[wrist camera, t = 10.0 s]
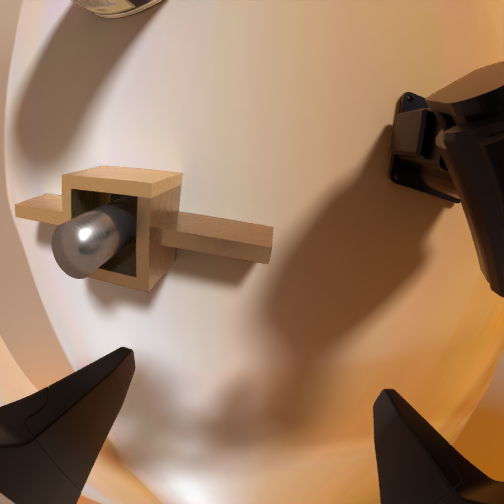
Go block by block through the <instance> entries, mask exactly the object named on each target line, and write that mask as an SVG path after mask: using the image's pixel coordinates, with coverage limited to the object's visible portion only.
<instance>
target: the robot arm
mask: <svg viewBox="0 0 504 504" xmlns="http://www.w3.org/2000/svg"><path fill="white" fill-rule="evenodd" d="M407 96H408V97H410V99H411V102H408V100H407ZM390 150H391V152H392V153H393V154H392V159H391V164H390V169H389V179H390V181H392V182H393V183H396V184H400V185H403V186H406V187H410V188H413V189H416V190H419V191H422V192H425V193H428V194H431V195H434V196H437V197H440V198H443V199H446V200H449V201H452V202H455V203H460V202H461V204H462V207H463V210H464V213H465V216H466V219H467V222H468V225H469V228H470V231H471V234H472V238H473V241H474V245H475V248H476V252H477V256H478V260H479V264H480V268H481V271H482V273H483V274H484V276H485V278H486V280H487V281H488V282H489V283H490V288H491V290H492V291H494V292H495V293H497V294H498V295H499V296H501V297H504V61H502V62H498V63H495V64H492V65H489V66H486V67H483V68H480V69H477V70H475V71H473V72H471V73H469V74H467V75H466V76H464V77H462V78H460V79H458V80H457V81H455V82H453V83H451V84H450V85H448V86H446V87H444V88H443V89H441V90H439V91H437V92H436V93H434V94H432V95H430V96H429V97H427V98H423V97H421V96H418V95H416V94H413V93H411V92H407V93H404V94H403V95H402V97H401V104H400V111H399V114H397V115H396V117H395V124H394V130H393V136H392V142H391V148H390ZM396 172H397V173H398V178H397V179H395V178H394V174H395V173H396ZM134 372H135V359H134V352H133V350H132V349H129V348H126V347H120V348H118V349H117V350H115V351H113V352H111V353H109V354H108V355H106V356H104V357H102V358H100V359H98V360H96V361H95V362H93V363H91V364H89V365H87V366H85V367H83V368H82V369H80V370H78V371H76V372H74V373H73V374H70V375H69V376H67V377H65V378H63V379H61V380H59V381H57V382H55V383H54V384H52V385H50V386H49V388H48V387H46V388H44V389H42V390H40V391H38V392H36V393H34V394H32V395H30V396H27V397H25V398H22V399H20V400H17V401H15V402H12V403H9V404H7V405H4V406H1V407H0V504H77V501H78V499H79V497H80V494H81V491H82V490H83V487H84V485H85V483H86V481H87V478H88V476H89V474H90V472H91V469H92V467H93V465H94V463H95V461H96V459H97V457H98V454H99V452H100V450H101V448H102V446H103V444H104V442H105V440H106V438H107V436H108V433H109V431H110V429H111V427H112V425H113V423H114V421H115V419H116V417H117V415H118V413H119V411H120V409H121V407H122V405H123V402H124V399H125V397H126V394H127V391H128V388H129V385H130V383H131V380H132V377H133V375H134ZM373 418H374V443H375V452H376V460H377V468H378V478H379V488H380V500H381V504H504V482H501V481H495V480H493V479H491V478H489V477H488V476H487V475H485V474H484V473H483V472H482V471H480V470H479V469H478V468H477V467H475V466H474V465H472V464H471V463H470V462H469V461H468V460H467V459H466V458H464V457H463V456H462V455H461V454H460V453H459V452H458V451H457V450H455V448H454V447H453V446H452V445H449V443H448V442H447V441H446V440H445V439H444V438H443V437H442V436H441V435H440V434H439V433H438V432H437V431H436V430H435V429H434V428H433V427H432V426H431V425H430V424H429V423H428V422H427V421H426V420H425V419H424V418H423V417H422V416H421V415H420V414H419V413H418V412H417V411H416V410H415V409H414V408H413V407H412V406H411V405H410V404H409V403H408V402H407V401H406V400H405V399H404V398H403V397H402V396H401V395H400V394H398V393H397V392H396V391H395V390H394V389H384V390H382V392H381V393H380V395H379V396H378V398H377V399H376V401H375V403H374V406H373Z"/></svg>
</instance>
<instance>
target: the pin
mask: <svg viewBox="0 0 504 504" xmlns="http://www.w3.org/2000/svg"><path fill="white" fill-rule="evenodd" d="M137 202H138V196H130V195H127V196H124V197H122V198H119V199H117V200H114V201H112V202H109V203H107V204H105V205H102V206H100V207H98V208H95V209H93V210H91V211H89V212H86V213H84V214H82V215H80V216H77V217H75V218H73V219H71V220H69V221H67V222H64V223H62V224H60V225H59V226H58V227H57V228H56V229H55V231H54V233H53V236H52V251H53V254H54V257H55V260H56V262H57V263H58V265H59V267H60V268H61V269H62V270H63V271H64V272H65V273H66V274H67V275H69V276H71V277H73V278H76V279H82V278H85V277H87V276H88V275H90V274H91V273H92V272H93V271H95V270H96V269H97V268H98V267H100V266H101V265H102V264H103V263H105V262H106V261H107V260H109V259H110V258H111V257H112V256H114V255H115V254H116V253H118V252H119V251H120V250H122V249H123V248H124V247H126V246H127V245H128V244H130V243H131V242H132V241H134V240H135V239H136V229H137Z"/></svg>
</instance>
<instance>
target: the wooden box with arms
mask: <svg viewBox="0 0 504 504" xmlns="http://www.w3.org/2000/svg"><path fill="white" fill-rule="evenodd" d="M181 181H182V173H177V172H168V171H159V170H149V169H139V168H127V167H115V166H100V167H95V168H90V169H86V170H81V171H77V172H72V173H68V174H64V175H62V195H54V194H43V195H40V196H37V197H34V198H32V199H29V200H26V201H23V202H20V203H18V204H15V213H16V217H19V218H24V219H29V220H34V221H39V222H44V223H49V224H54V225H60V224H62V223H64V222H67V221H69V220H71V219H73V218H75V217H77V216H80V215H82V214H84V213H86V212H89V211H91V210H93V209H95V208H98V207H100V206H102V205H105V204H107V203H109V202H111V193H114V194H122V195H130V196H138V202H137V229H136V242H131V243H130V244H128V245H127V246H126V247H124V248H123V249H122V250H120V251H119V252H118V253H116V254H115V255H114V256H112V257H111V258H110V259H109V260H107V261H106V262H105V263H103V264H102V265H101V266H100V267H98V268H97V269H96V270H95V271H93V272H92V273H91V274H90V275H88V276H87V277H91V278H95V279H99V280H102V281H106V282H110V283H114V284H118V285H122V286H125V287H130V288H134V289H138V290H142V291H146V292H149V291H150V290H151V289H152V288H153V286H154V285H155V284H156V283H157V282H158V280H159V279H160V278H161V277H162V275H163V274H164V273H165V272H166V271H167V269H168V268H169V267H170V266H171V265H172V263H173V262H174V261H175V256H176V248H180V249H186V250H191V251H197V252H202V253H208V254H213V255H219V256H224V257H230V258H235V259H241V260H247V261H252V262H258V263H264V264H269V260H270V255H271V250H272V239H273V227H269V226H263V225H258V224H252V223H246V222H240V221H234V220H228V219H222V218H216V217H210V216H204V215H198V214H192V213H185V212H179V201H180V191H181Z"/></svg>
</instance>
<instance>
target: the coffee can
mask: <svg viewBox="0 0 504 504" xmlns="http://www.w3.org/2000/svg"><path fill="white" fill-rule="evenodd" d="M71 1H73V2H75V3H77V4H79V5H81V6H83V7H85V8H87V9H88V10H90V11H91V12H93V13H94V14H95V15H97V16H99V17H105V18H119V17H124V16H128V15H132V14H135V13H138V12H141V11H143V10H145V9H147V8H149V7H151V6H153V5H155V4H157V3H158V2H160V1H162V0H71Z"/></svg>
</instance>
